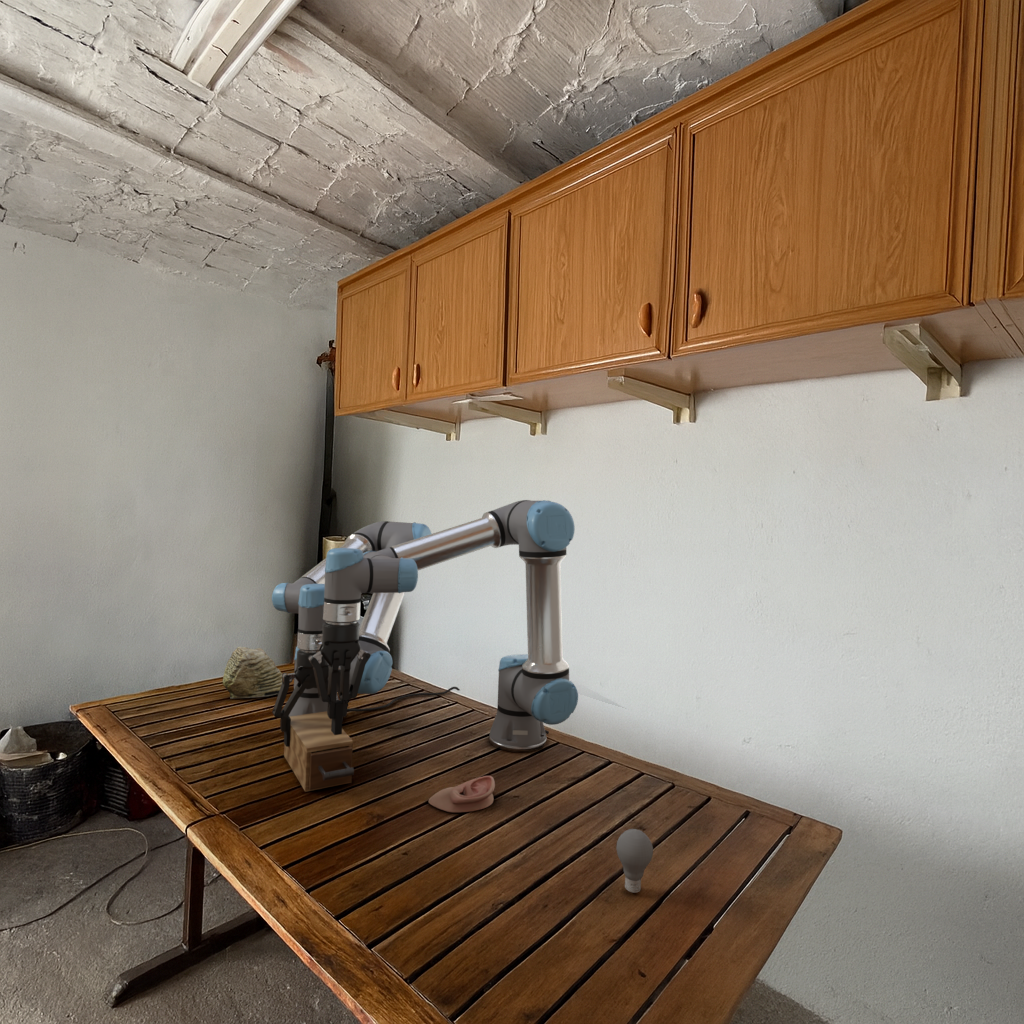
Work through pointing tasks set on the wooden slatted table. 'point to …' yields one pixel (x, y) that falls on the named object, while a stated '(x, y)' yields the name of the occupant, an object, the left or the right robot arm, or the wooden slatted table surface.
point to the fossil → (251, 674)
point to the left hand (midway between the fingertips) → (310, 740)
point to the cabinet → (311, 743)
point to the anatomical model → (465, 796)
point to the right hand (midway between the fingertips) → (336, 732)
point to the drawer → (330, 767)
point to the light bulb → (634, 857)
